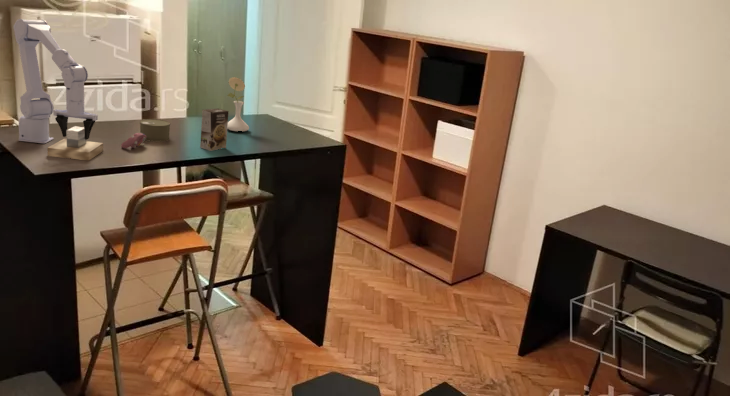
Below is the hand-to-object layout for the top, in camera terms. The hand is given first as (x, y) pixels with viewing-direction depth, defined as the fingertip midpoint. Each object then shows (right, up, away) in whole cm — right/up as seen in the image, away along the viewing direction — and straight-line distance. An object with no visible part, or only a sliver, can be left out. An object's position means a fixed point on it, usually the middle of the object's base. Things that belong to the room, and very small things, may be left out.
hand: (76, 137), depth 210 cm
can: (+15, +3, +36) cm, 39 cm away
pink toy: (+13, -2, +20) cm, 24 cm away
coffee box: (+41, -1, +34) cm, 53 cm away
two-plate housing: (0, -3, +1) cm, 3 cm away
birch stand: (-1, -5, +2) cm, 6 cm away
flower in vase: (+42, +11, +69) cm, 82 cm away
